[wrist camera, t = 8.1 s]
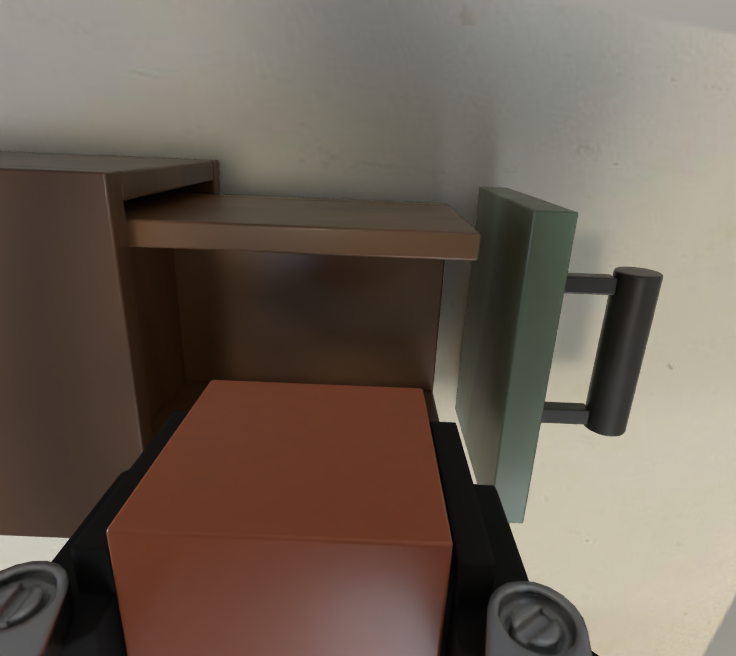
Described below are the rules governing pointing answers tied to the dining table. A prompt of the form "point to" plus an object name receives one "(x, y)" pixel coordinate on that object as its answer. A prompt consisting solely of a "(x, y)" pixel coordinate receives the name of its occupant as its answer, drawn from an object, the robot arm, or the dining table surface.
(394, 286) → the drawer
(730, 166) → the dining table surface
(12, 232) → the cabinet
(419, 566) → the block
